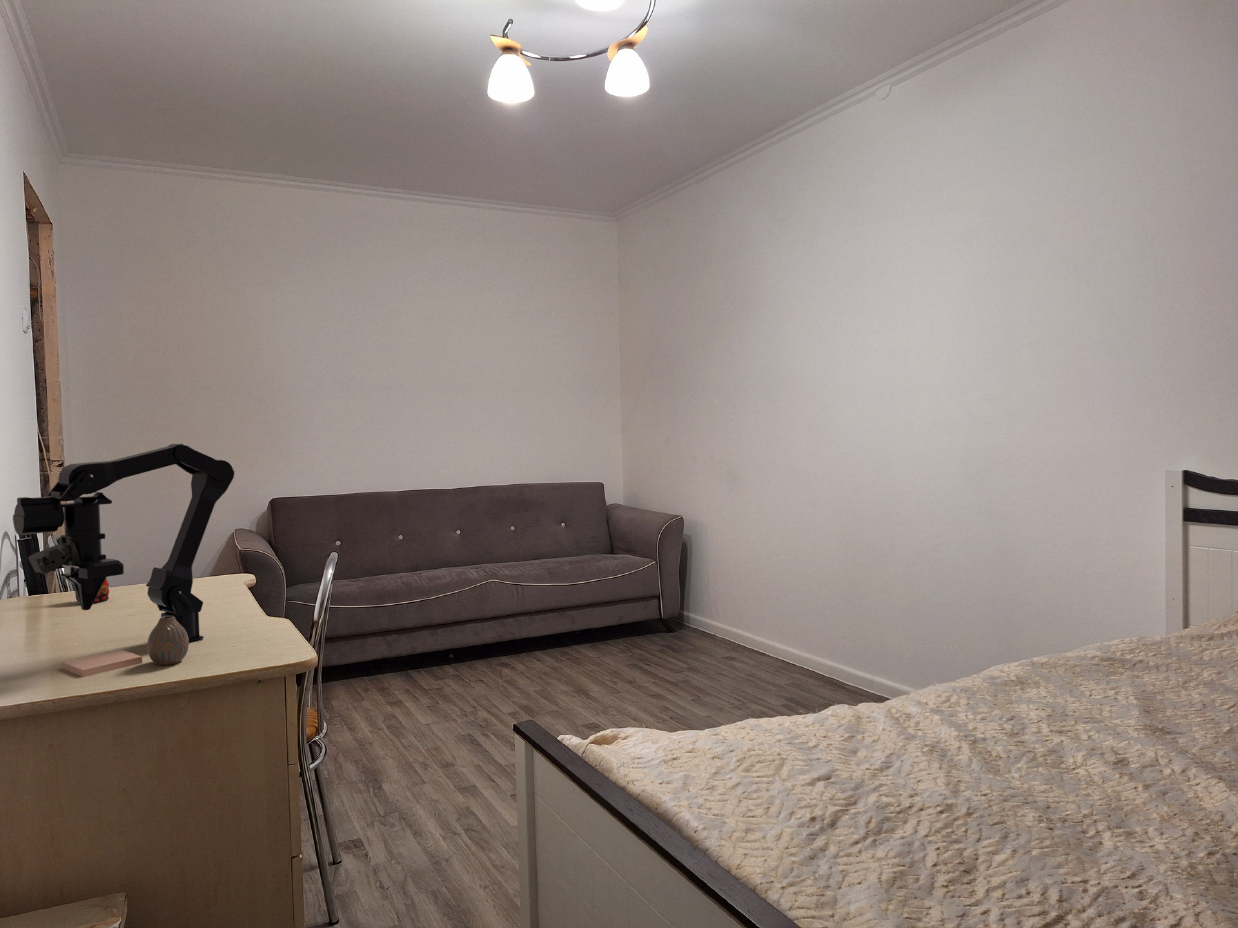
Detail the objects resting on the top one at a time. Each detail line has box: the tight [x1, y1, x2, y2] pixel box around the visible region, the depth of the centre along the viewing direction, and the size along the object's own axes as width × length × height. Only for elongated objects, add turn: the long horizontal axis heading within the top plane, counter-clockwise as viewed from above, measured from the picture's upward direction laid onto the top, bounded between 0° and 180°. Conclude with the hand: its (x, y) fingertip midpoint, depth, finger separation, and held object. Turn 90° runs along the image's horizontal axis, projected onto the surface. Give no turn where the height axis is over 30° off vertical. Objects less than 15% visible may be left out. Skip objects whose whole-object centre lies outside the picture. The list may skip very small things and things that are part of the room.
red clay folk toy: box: [74, 578, 110, 604], centre depth 206 cm, size 8×7×15 cm
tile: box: [61, 649, 143, 678], centre depth 150 cm, size 10×2×9 cm
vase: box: [146, 616, 190, 666], centre depth 151 cm, size 7×7×9 cm
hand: (86, 609), depth 153 cm, fingers closed
